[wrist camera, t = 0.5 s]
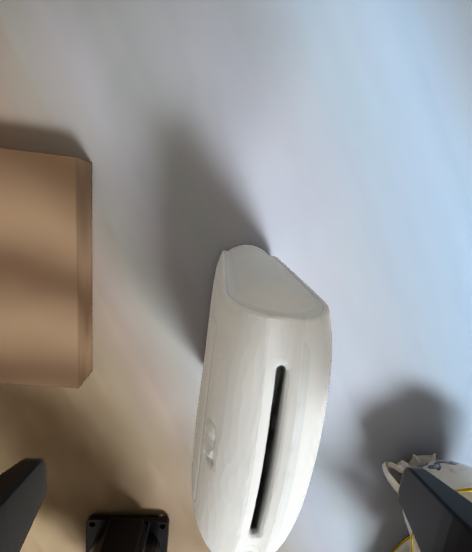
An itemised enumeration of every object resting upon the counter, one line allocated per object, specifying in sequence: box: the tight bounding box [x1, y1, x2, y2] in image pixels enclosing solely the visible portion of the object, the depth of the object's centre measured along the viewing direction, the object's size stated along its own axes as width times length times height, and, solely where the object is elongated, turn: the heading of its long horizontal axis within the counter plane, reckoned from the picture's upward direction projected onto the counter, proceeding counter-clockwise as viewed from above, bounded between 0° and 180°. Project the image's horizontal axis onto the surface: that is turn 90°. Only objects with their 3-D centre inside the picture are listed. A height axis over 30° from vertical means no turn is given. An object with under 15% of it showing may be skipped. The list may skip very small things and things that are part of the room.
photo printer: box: [192, 245, 332, 552], centre depth 14 cm, size 10×4×12 cm, turn 173°
